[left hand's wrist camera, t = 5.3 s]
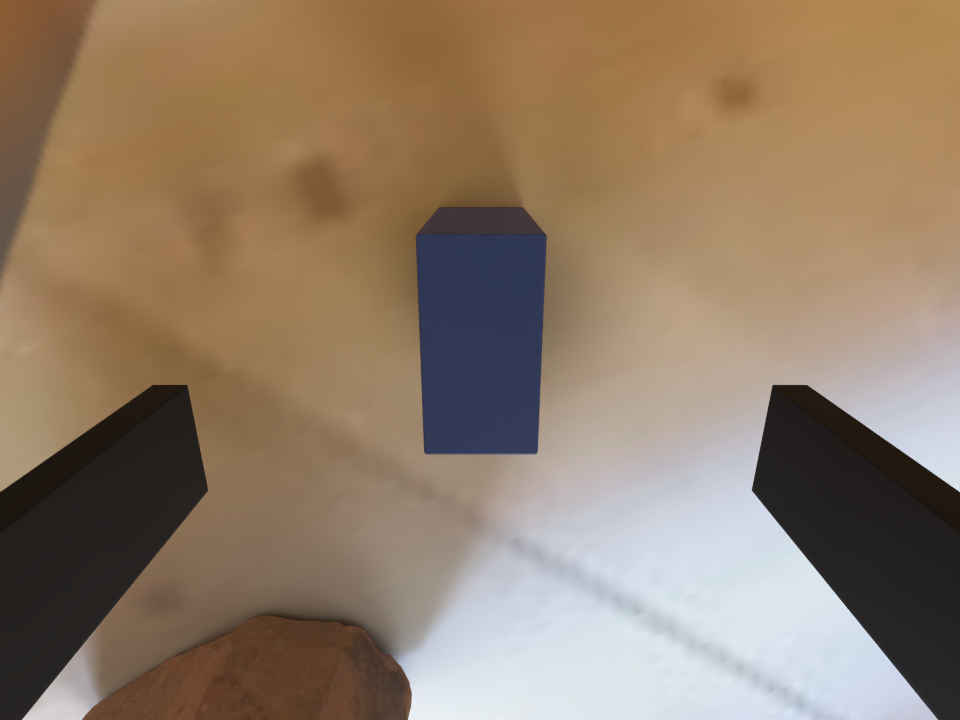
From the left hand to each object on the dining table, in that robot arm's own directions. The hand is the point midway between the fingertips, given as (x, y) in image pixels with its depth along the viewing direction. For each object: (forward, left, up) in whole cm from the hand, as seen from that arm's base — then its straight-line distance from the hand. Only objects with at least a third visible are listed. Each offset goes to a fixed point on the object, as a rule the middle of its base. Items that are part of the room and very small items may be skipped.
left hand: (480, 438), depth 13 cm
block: (0, 0, -15) cm, 15 cm away
